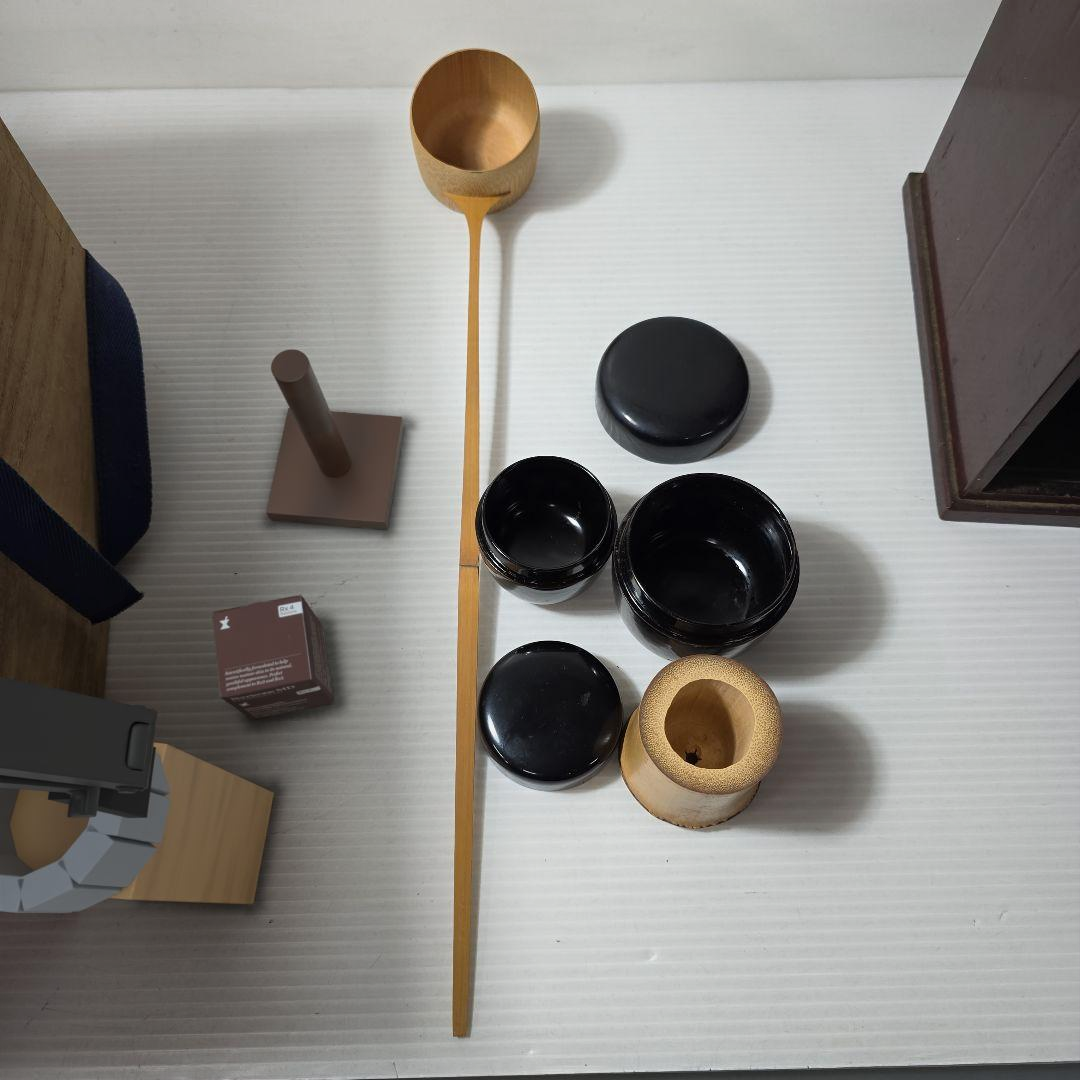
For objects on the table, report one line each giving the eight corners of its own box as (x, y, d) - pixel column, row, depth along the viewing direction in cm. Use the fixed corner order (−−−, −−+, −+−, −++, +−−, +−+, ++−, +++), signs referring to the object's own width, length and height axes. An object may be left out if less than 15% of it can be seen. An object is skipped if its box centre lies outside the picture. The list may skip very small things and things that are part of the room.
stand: (146, 894, 63) (-21, 885, 44) (171, 782, 66) (24, 730, 47) (253, 904, 63) (131, 900, 44) (274, 792, 65) (167, 743, 47)
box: (250, 721, 67) (216, 699, 60) (242, 640, 69) (209, 610, 62) (336, 704, 68) (312, 680, 61) (325, 623, 70) (301, 592, 63)
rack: (271, 520, 73) (203, 423, 58) (292, 416, 76) (234, 300, 62) (387, 530, 72) (349, 434, 58) (404, 425, 76) (371, 310, 61)
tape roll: (-43, 902, 44) (-112, 900, 39) (12, 713, 47) (-45, 691, 43) (144, 920, 44) (97, 920, 39) (187, 728, 47) (148, 708, 42)
